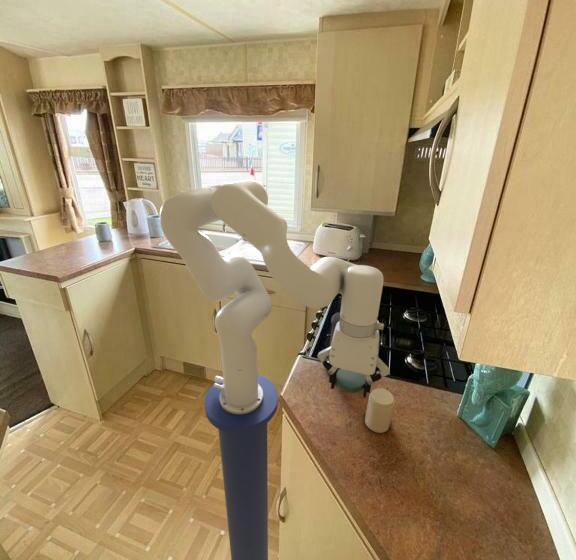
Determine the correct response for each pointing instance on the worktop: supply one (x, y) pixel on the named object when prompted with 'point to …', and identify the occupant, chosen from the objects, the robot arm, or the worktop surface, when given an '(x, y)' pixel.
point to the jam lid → (350, 381)
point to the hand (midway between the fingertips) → (349, 388)
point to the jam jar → (379, 410)
